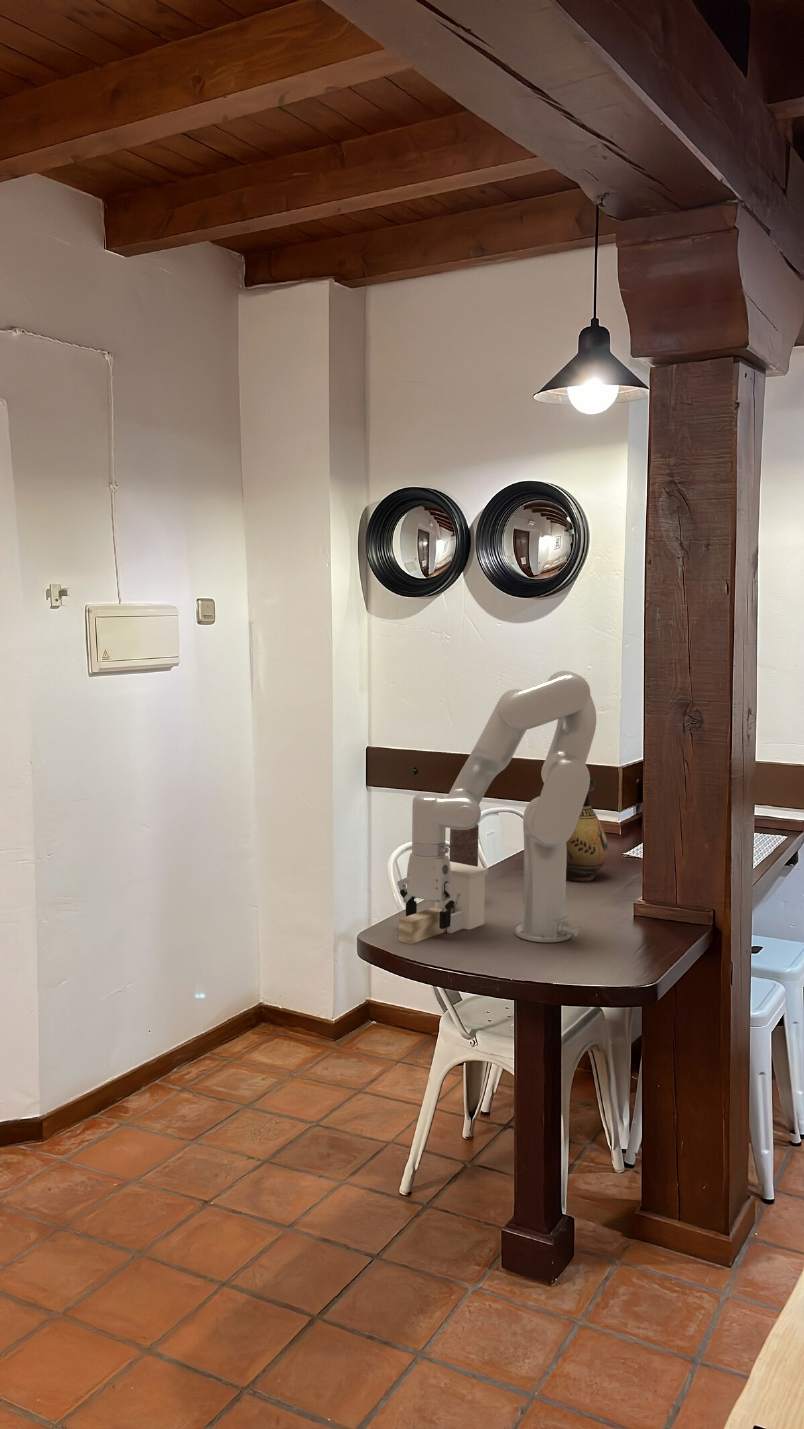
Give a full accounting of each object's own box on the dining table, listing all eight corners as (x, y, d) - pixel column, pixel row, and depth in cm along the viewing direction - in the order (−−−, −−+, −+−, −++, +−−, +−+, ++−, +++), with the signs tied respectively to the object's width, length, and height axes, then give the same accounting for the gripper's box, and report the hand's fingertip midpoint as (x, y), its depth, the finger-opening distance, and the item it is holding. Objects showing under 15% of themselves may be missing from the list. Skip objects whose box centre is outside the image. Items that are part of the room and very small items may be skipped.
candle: (475, 907, 266) (476, 827, 264) (446, 905, 268) (447, 826, 266) (479, 899, 274) (480, 821, 272) (450, 897, 275) (451, 820, 273)
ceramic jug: (611, 884, 290) (614, 774, 287) (554, 883, 290) (556, 773, 287) (601, 869, 307) (604, 765, 304) (546, 868, 307) (549, 765, 304)
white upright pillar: (449, 915, 259) (450, 861, 258) (487, 924, 252) (488, 868, 251) (419, 925, 250) (420, 870, 249) (457, 935, 243) (458, 877, 242)
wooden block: (411, 944, 236) (411, 921, 236) (398, 940, 238) (399, 918, 238) (454, 928, 249) (455, 907, 248) (442, 925, 251) (443, 904, 250)
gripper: (469, 852, 239) (468, 927, 241) (409, 841, 250) (408, 913, 252) (449, 857, 233) (448, 934, 235) (388, 846, 244) (387, 919, 246)
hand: (427, 923), depth 243 cm, fingers open, 9 cm apart
